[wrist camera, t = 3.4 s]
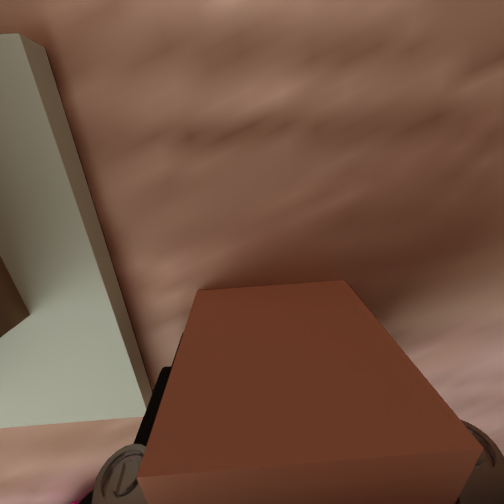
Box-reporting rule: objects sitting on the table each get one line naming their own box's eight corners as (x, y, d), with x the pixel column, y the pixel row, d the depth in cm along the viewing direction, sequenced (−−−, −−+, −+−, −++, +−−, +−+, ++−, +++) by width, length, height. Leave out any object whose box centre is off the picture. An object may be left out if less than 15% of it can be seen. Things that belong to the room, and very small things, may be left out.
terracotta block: (344, 279, 10) (483, 447, 4) (333, 384, 12) (414, 582, 6) (197, 290, 10) (136, 477, 4) (214, 393, 12) (191, 603, 6)
